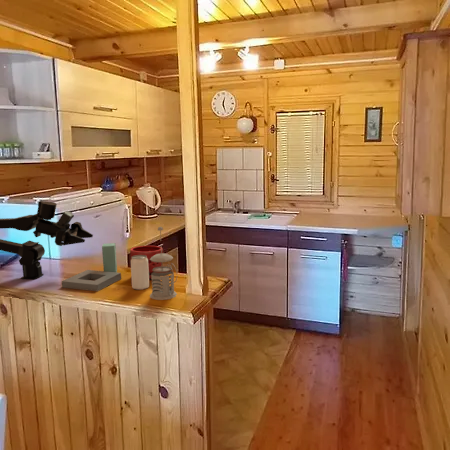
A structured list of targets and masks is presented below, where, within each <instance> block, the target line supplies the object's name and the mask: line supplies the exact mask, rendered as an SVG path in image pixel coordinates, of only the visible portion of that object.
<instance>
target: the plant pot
mask: <svg viewBox="0 0 450 450" xmlns="http://www.w3.org/2000/svg"><path fill="white" fill-rule="evenodd" d="M161 247H162V246H157V245H139V246H133V247H131V248H130V249H129V251H130V252H129V256H130V260H131V259H132V256H135V255H146V256H147V259H148V269H149V280H152V277H151V274H152V273H153V271H152V269H153V268H155V267H162V266H163V262H153V261H151V260H150V258H151V257H153V256H154V255H156V254H160V253H161ZM162 253H164V249H163V247H162Z"/></svg>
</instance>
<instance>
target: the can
mask: <svg viewBox="0 0 450 450" xmlns="http://www.w3.org/2000/svg"><path fill="white" fill-rule="evenodd" d="M130 272H131V287H132V289H134V290H137V291H142V290H146V289H148V288H149V287H150V279H149V269H148V259H147V256H146V255H135V256H132V259H131V258H130Z"/></svg>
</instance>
